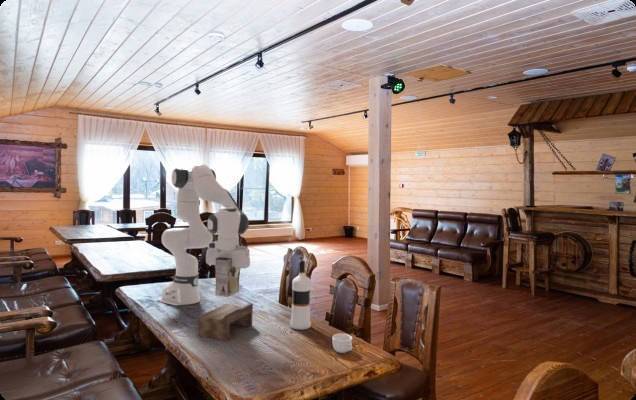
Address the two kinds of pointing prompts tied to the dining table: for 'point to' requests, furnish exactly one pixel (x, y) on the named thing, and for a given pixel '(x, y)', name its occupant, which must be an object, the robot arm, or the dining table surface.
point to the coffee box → (225, 278)
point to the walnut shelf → (224, 320)
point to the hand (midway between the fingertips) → (227, 276)
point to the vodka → (301, 300)
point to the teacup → (342, 342)
